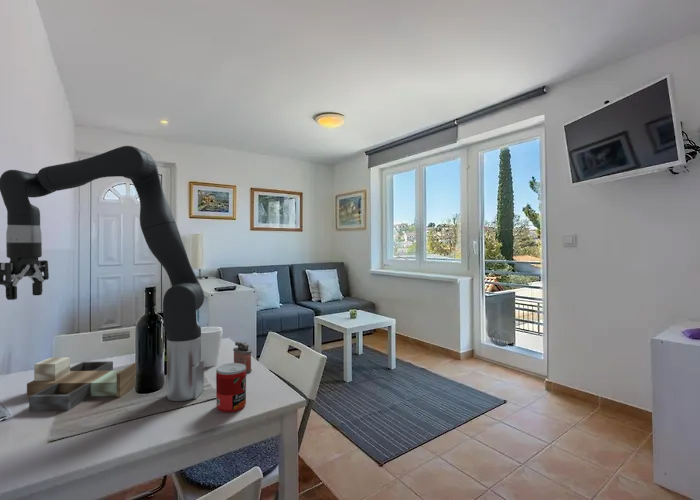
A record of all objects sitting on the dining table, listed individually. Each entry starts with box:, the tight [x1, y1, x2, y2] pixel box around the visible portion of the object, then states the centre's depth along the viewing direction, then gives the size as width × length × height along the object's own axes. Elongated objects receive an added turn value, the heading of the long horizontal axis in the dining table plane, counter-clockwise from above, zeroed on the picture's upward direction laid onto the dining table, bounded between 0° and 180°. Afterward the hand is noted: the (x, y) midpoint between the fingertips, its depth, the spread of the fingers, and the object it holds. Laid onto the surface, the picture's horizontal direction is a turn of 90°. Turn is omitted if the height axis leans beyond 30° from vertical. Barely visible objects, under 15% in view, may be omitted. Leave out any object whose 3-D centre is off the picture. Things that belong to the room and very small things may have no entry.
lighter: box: [232, 341, 253, 374], centre depth 126 cm, size 8×3×10 cm, turn 58°
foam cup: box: [201, 326, 223, 368], centre depth 133 cm, size 10×9×13 cm
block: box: [33, 357, 71, 381], centre depth 109 cm, size 6×6×5 cm
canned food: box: [215, 362, 247, 414], centre depth 99 cm, size 8×8×11 cm
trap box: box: [26, 360, 137, 412], centre depth 109 cm, size 27×28×7 cm
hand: (25, 297), depth 103 cm, fingers open, 8 cm apart
